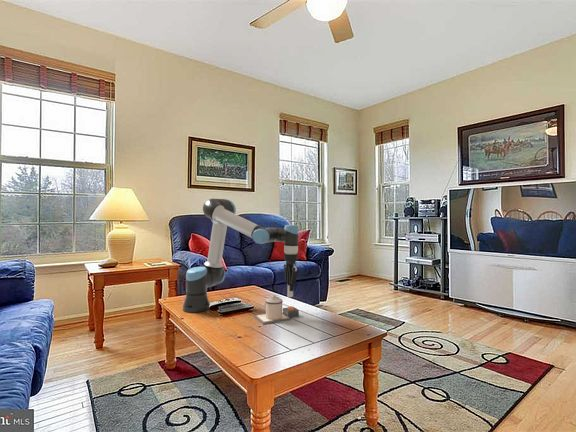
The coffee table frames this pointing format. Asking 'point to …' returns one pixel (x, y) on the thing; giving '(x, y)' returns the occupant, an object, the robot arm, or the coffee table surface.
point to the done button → (290, 308)
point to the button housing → (291, 312)
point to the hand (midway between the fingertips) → (290, 296)
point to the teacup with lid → (273, 308)
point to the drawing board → (264, 320)
